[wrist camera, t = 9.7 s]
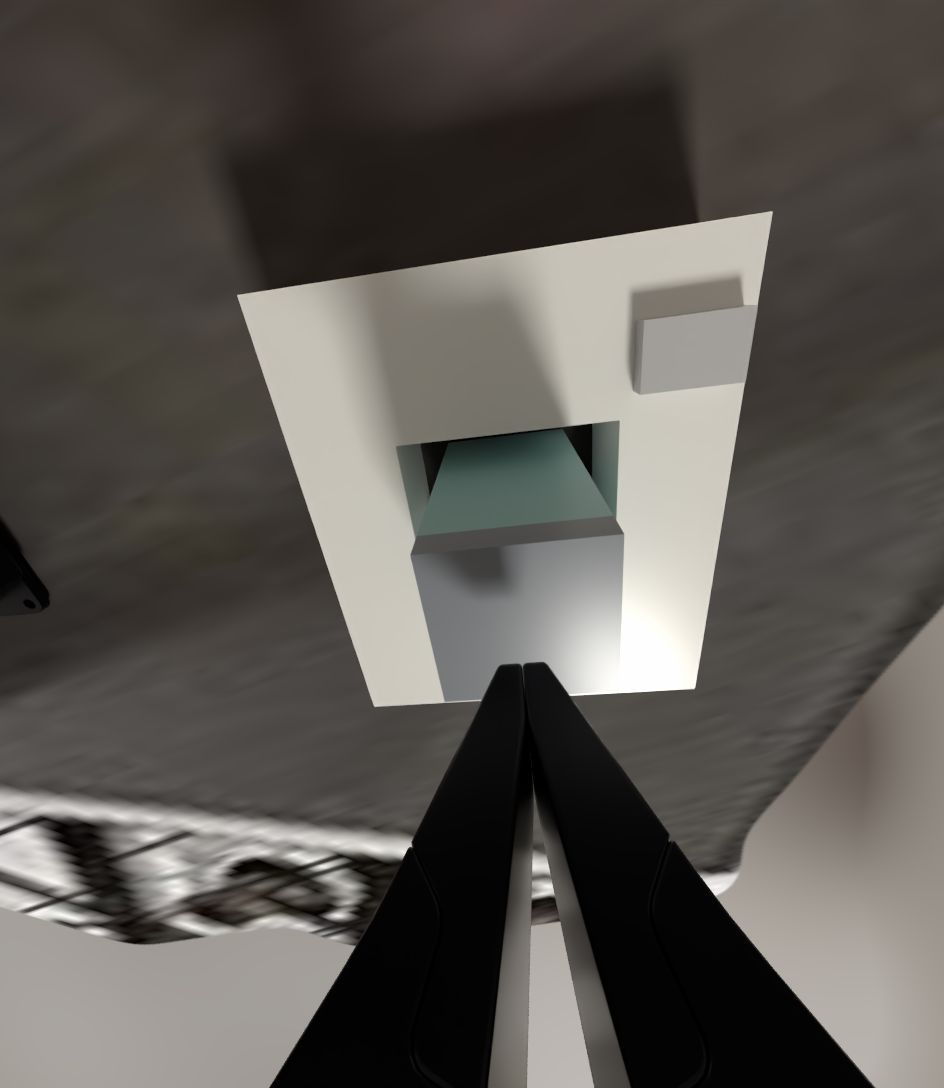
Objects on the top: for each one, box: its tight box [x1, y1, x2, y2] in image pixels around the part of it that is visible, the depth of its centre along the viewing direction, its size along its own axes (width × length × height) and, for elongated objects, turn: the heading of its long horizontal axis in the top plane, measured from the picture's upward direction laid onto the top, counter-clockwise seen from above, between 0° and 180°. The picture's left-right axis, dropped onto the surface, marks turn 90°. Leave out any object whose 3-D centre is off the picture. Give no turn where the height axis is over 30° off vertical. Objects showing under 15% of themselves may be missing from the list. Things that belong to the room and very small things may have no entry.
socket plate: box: [237, 211, 773, 707], centre depth 14 cm, size 12×14×4 cm
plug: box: [410, 429, 624, 702], centre depth 12 cm, size 4×4×8 cm
